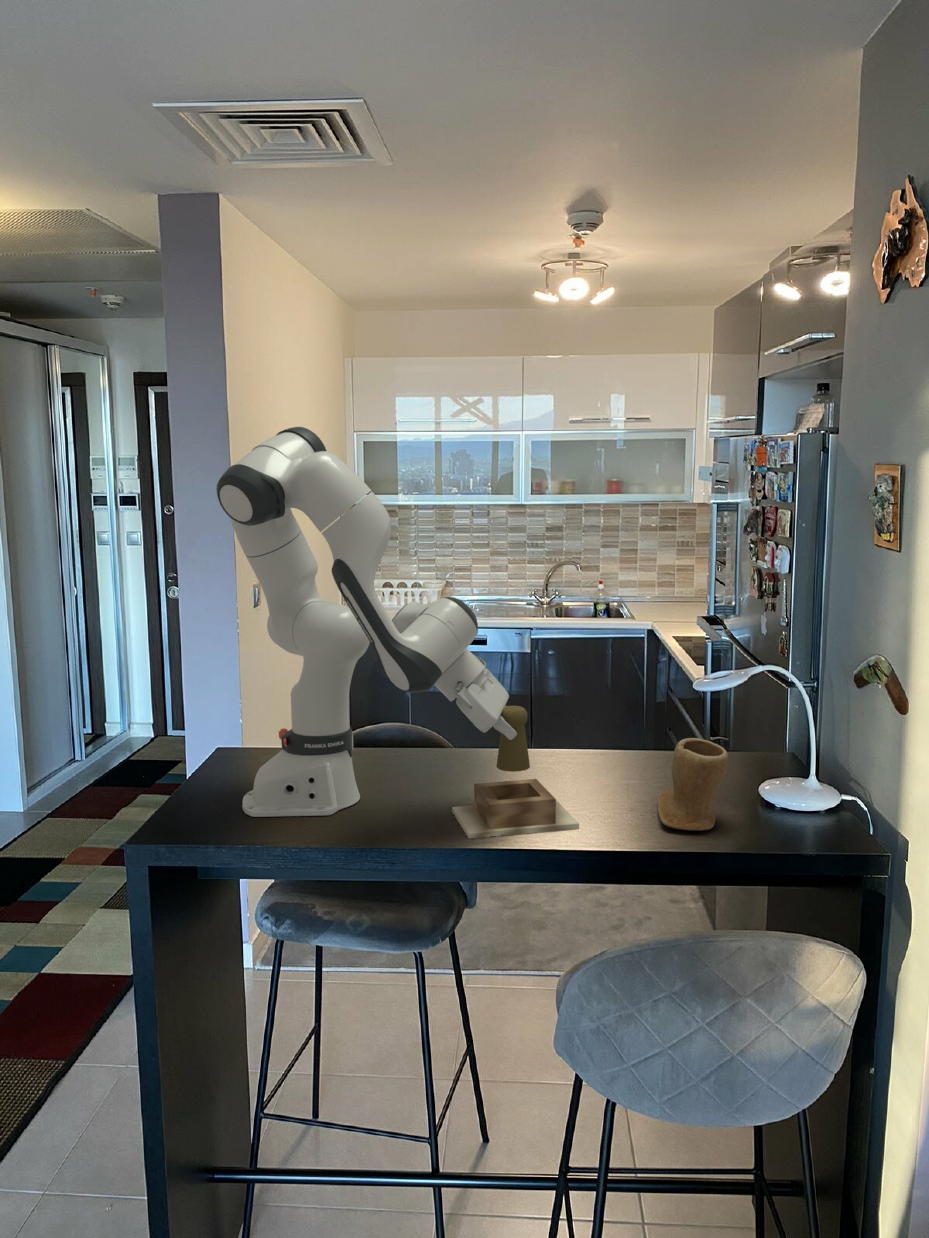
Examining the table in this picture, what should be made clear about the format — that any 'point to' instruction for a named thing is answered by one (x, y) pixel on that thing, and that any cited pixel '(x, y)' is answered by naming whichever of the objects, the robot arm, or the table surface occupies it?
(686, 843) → the table surface
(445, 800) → the table surface
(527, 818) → the cruet stand
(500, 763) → the cork
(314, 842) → the table surface
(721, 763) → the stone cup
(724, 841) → the table surface
